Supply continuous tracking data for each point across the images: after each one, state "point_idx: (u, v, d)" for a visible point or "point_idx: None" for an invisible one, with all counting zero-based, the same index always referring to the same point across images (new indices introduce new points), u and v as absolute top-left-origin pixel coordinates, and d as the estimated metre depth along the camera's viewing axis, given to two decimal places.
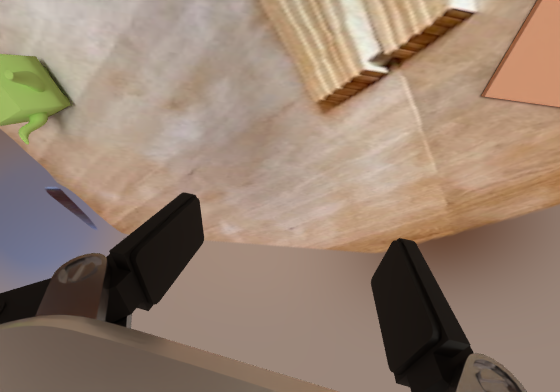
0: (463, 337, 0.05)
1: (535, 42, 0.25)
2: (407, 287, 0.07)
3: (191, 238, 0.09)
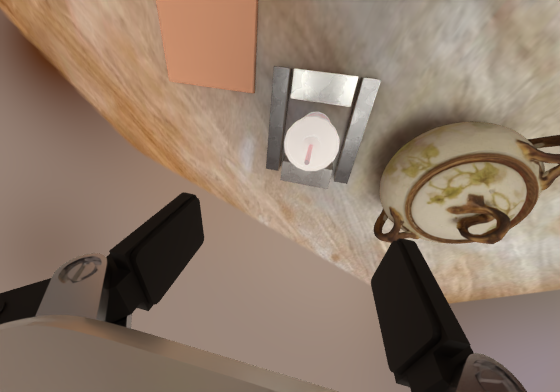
0: (463, 337, 0.05)
1: None
2: (407, 287, 0.07)
3: (191, 238, 0.09)
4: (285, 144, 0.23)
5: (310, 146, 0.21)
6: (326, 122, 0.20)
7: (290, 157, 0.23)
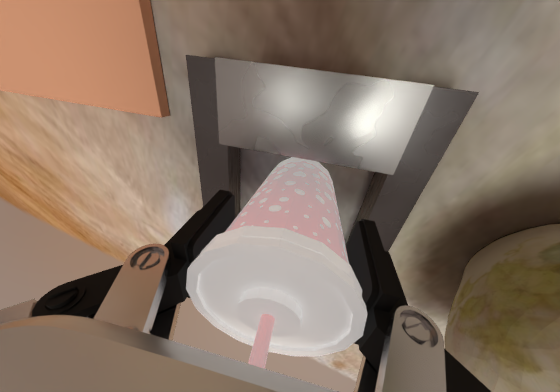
0: (395, 292, 0.06)
1: None
2: (361, 258, 0.08)
3: None
4: (192, 295, 0.07)
5: (262, 338, 0.06)
6: (319, 267, 0.05)
7: (215, 320, 0.08)
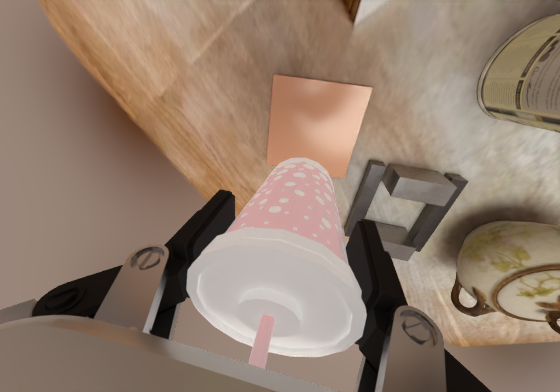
0: (395, 292, 0.06)
1: (318, 97, 0.27)
2: (361, 258, 0.08)
3: None
4: (193, 296, 0.07)
5: (261, 339, 0.06)
6: (319, 268, 0.05)
7: (215, 321, 0.08)
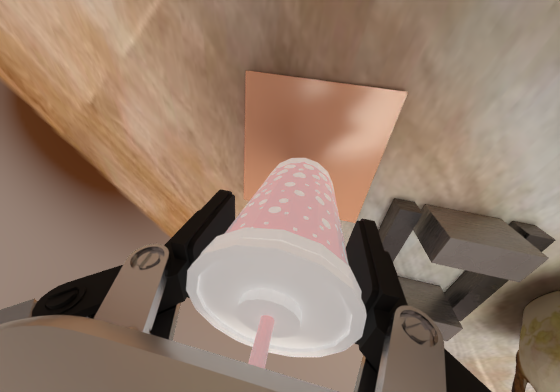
0: (395, 292, 0.06)
1: (318, 107, 0.17)
2: (361, 258, 0.08)
3: None
4: (192, 296, 0.07)
5: (261, 340, 0.06)
6: (318, 268, 0.05)
7: (215, 321, 0.08)
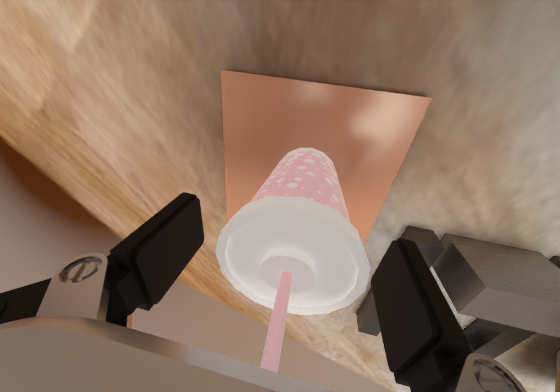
0: (462, 337, 0.05)
1: (314, 116, 0.13)
2: (407, 287, 0.07)
3: (191, 238, 0.09)
4: (220, 258, 0.08)
5: (284, 288, 0.07)
6: (334, 226, 0.06)
7: (237, 283, 0.09)
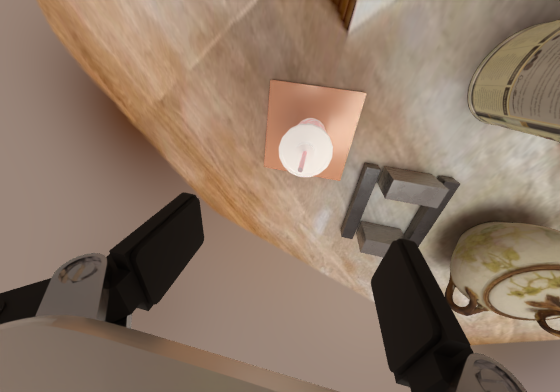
0: (463, 337, 0.05)
1: (314, 102, 0.28)
2: (407, 287, 0.07)
3: (191, 238, 0.09)
4: (280, 150, 0.23)
5: (304, 153, 0.22)
6: (320, 130, 0.21)
7: (284, 163, 0.24)
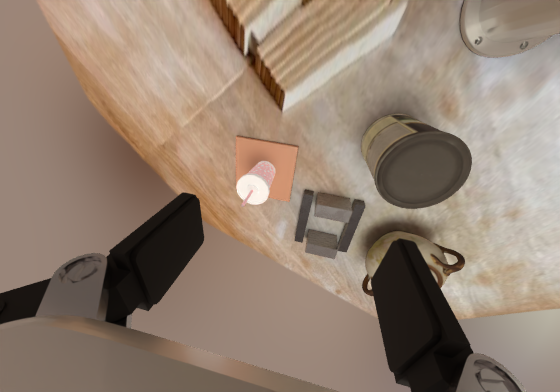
0: (463, 337, 0.05)
1: (265, 151, 0.41)
2: (407, 287, 0.07)
3: (191, 238, 0.09)
4: (237, 188, 0.36)
5: (250, 191, 0.35)
6: (259, 178, 0.34)
7: (241, 195, 0.37)
